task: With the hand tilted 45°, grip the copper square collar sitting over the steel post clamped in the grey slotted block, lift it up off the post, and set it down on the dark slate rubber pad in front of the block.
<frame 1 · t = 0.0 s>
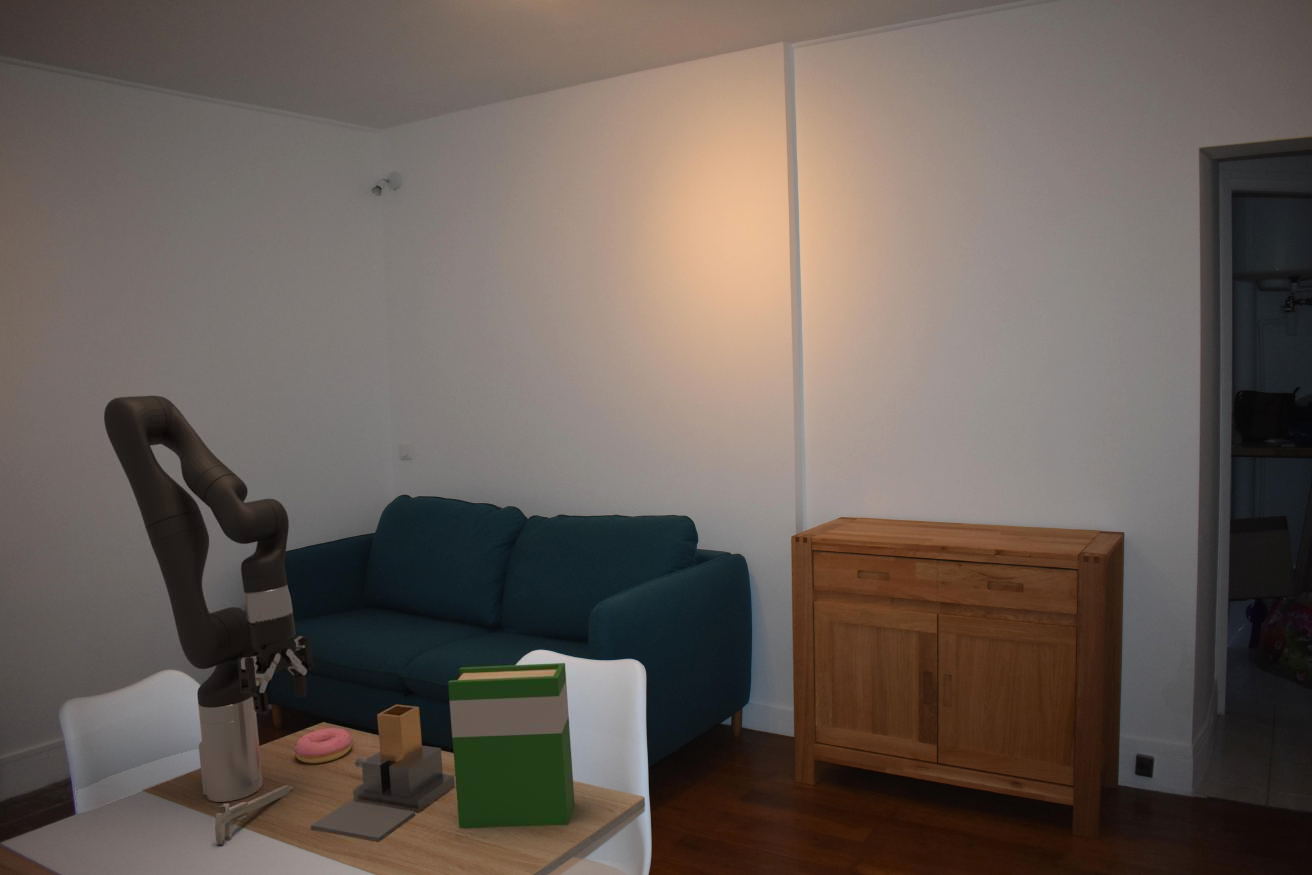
hand: (282, 704, 159), 17 cm above the table, tool pointing down, fingers open, 8 cm apart
doughnut: (324, 755, 180), on the table
hardback book: (518, 816, 149), on the table
caliper: (257, 817, 155), on the table
grey slotted block: (404, 793, 159), on the table
copper collar: (401, 755, 159), point 7 cm above the table, touching grey slotted block
slate pad: (363, 821, 150), on the table
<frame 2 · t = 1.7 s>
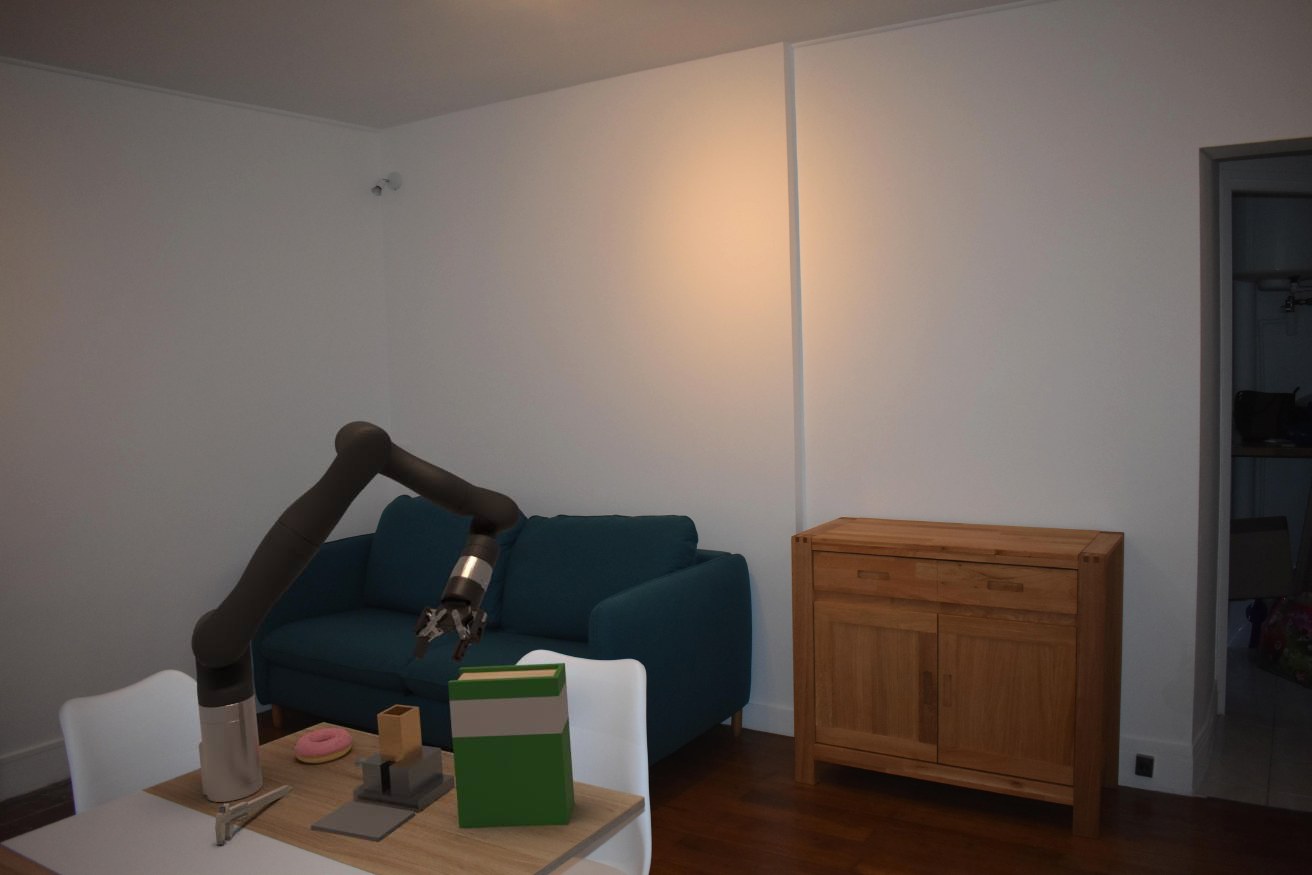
hand: (436, 659, 168), 21 cm above the table, tool tilted 45°, fingers open, 8 cm apart
nothing on the table moved.
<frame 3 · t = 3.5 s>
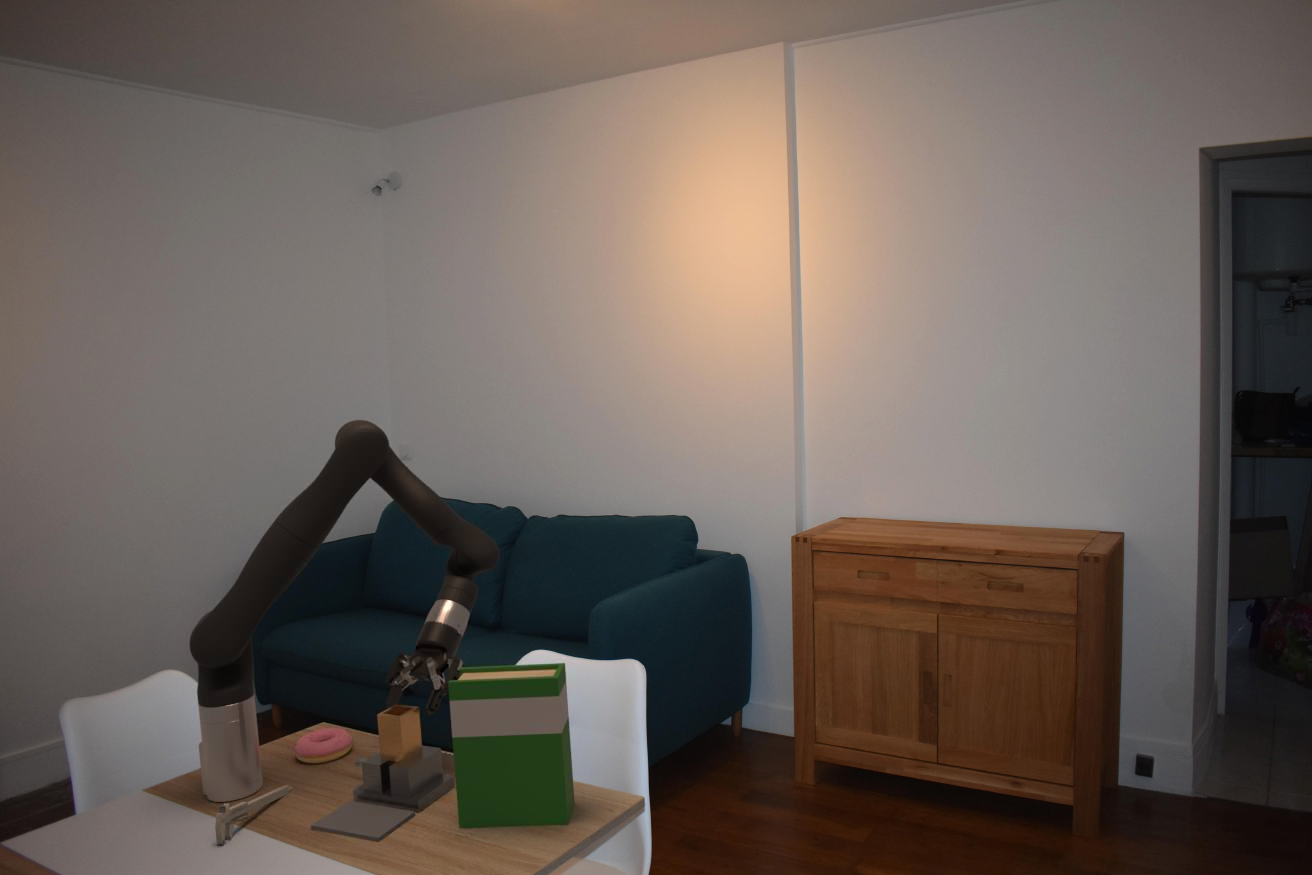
hand: (409, 710, 161), 14 cm above the table, tool tilted 45°, fingers open, 8 cm apart
nothing on the table moved.
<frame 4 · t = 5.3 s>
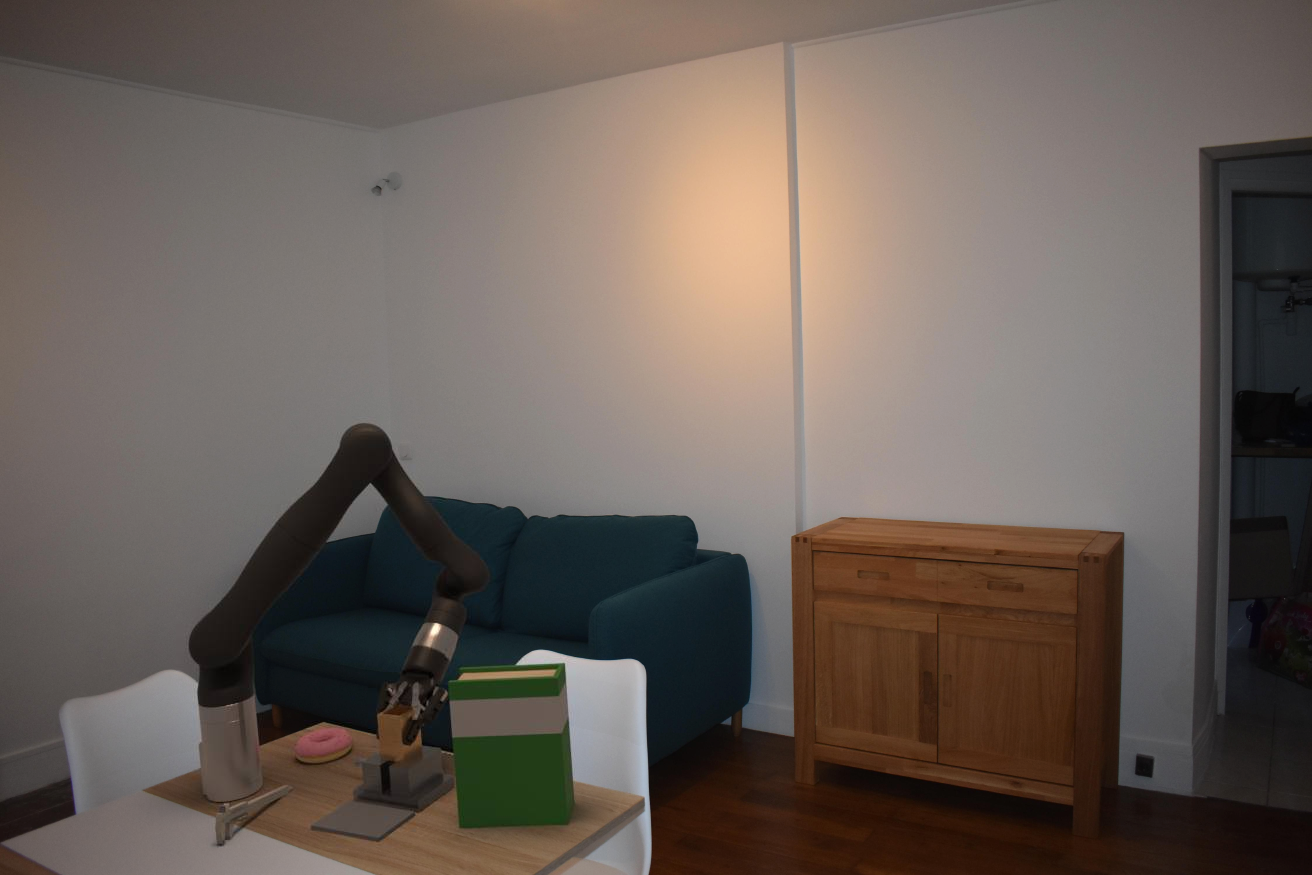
hand: (393, 741, 157), 10 cm above the table, tool tilted 45°, fingers closed on copper collar, 5 cm apart
copper collar: (401, 755, 159), point 7 cm above the table, touching grey slotted block, gripper
everything else where it was.
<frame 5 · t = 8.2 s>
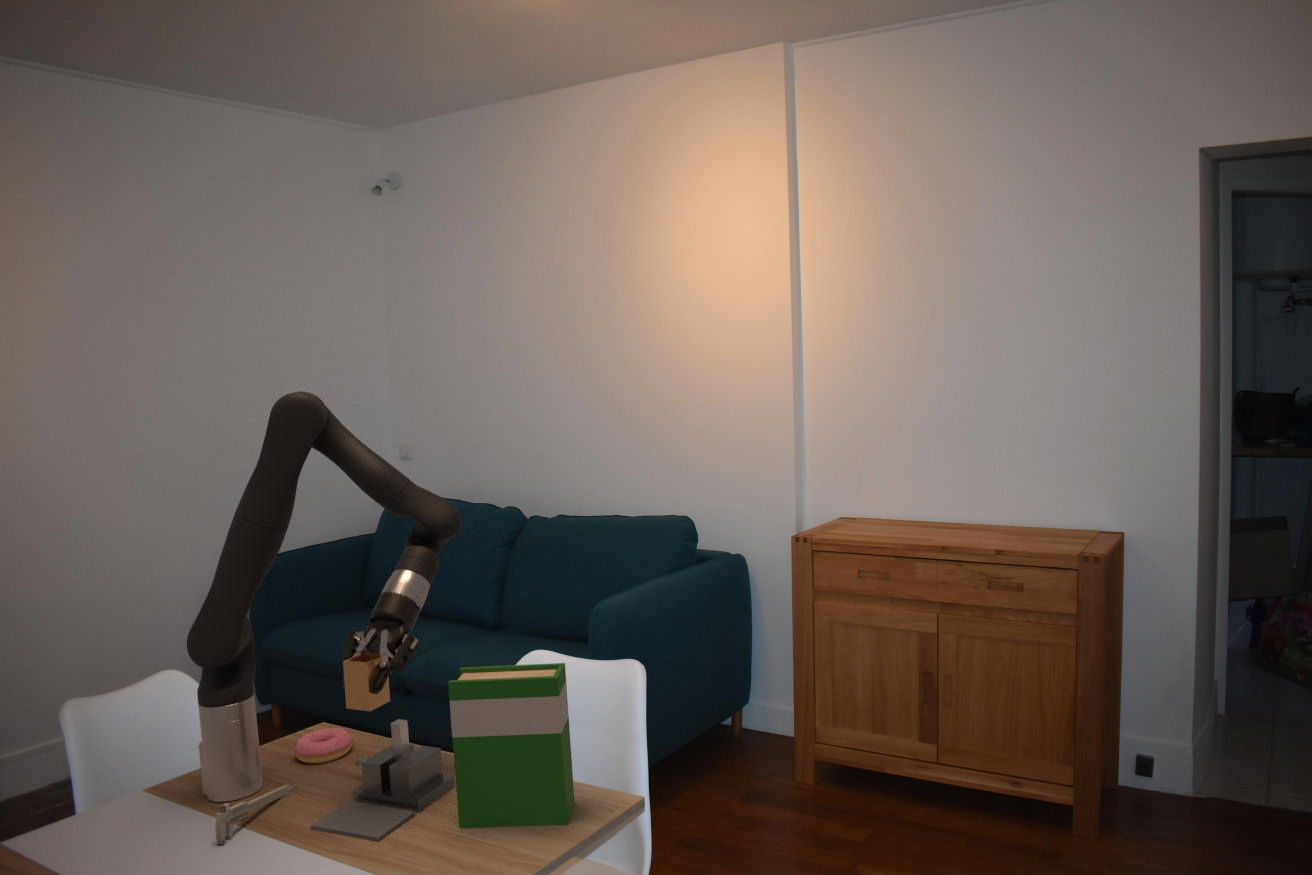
hand: (359, 689, 150), 22 cm above the table, tool tilted 45°, fingers closed on copper collar, 5 cm apart
copper collar: (368, 704, 152), point 19 cm above the table, touching gripper
everything else where it was.
when the fingers open (5 cm above the table, at t = 11.1 s): copper collar drops 1 cm, resting on slate pad.
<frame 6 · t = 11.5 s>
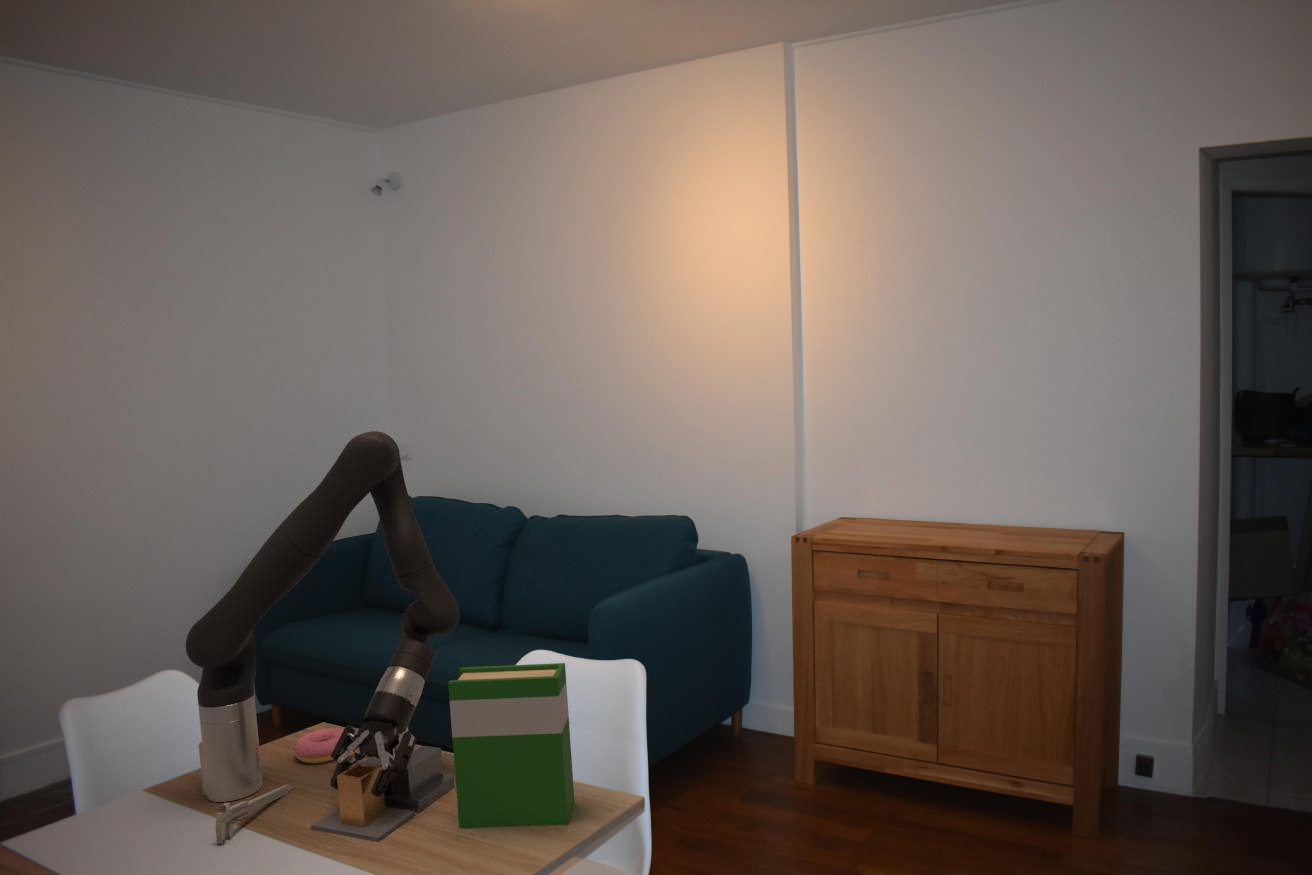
hand: (355, 791, 148), 6 cm above the table, tool tilted 45°, fingers open, 8 cm apart
copper collar: (363, 817, 150), point 1 cm above the table, touching slate pad
everything else where it was.
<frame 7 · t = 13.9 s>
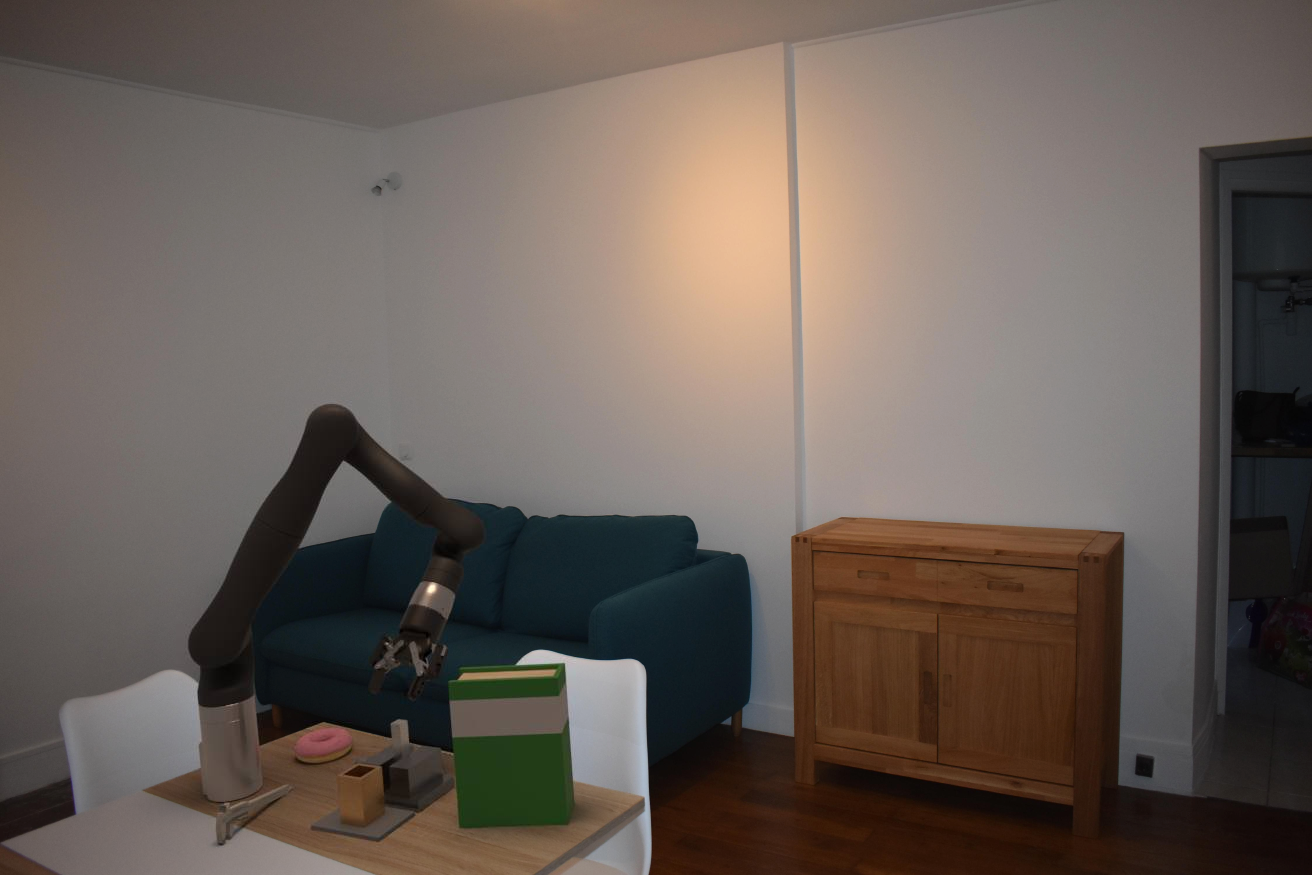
hand: (391, 695, 159), 18 cm above the table, tool tilted 40°, fingers open, 8 cm apart
nothing on the table moved.
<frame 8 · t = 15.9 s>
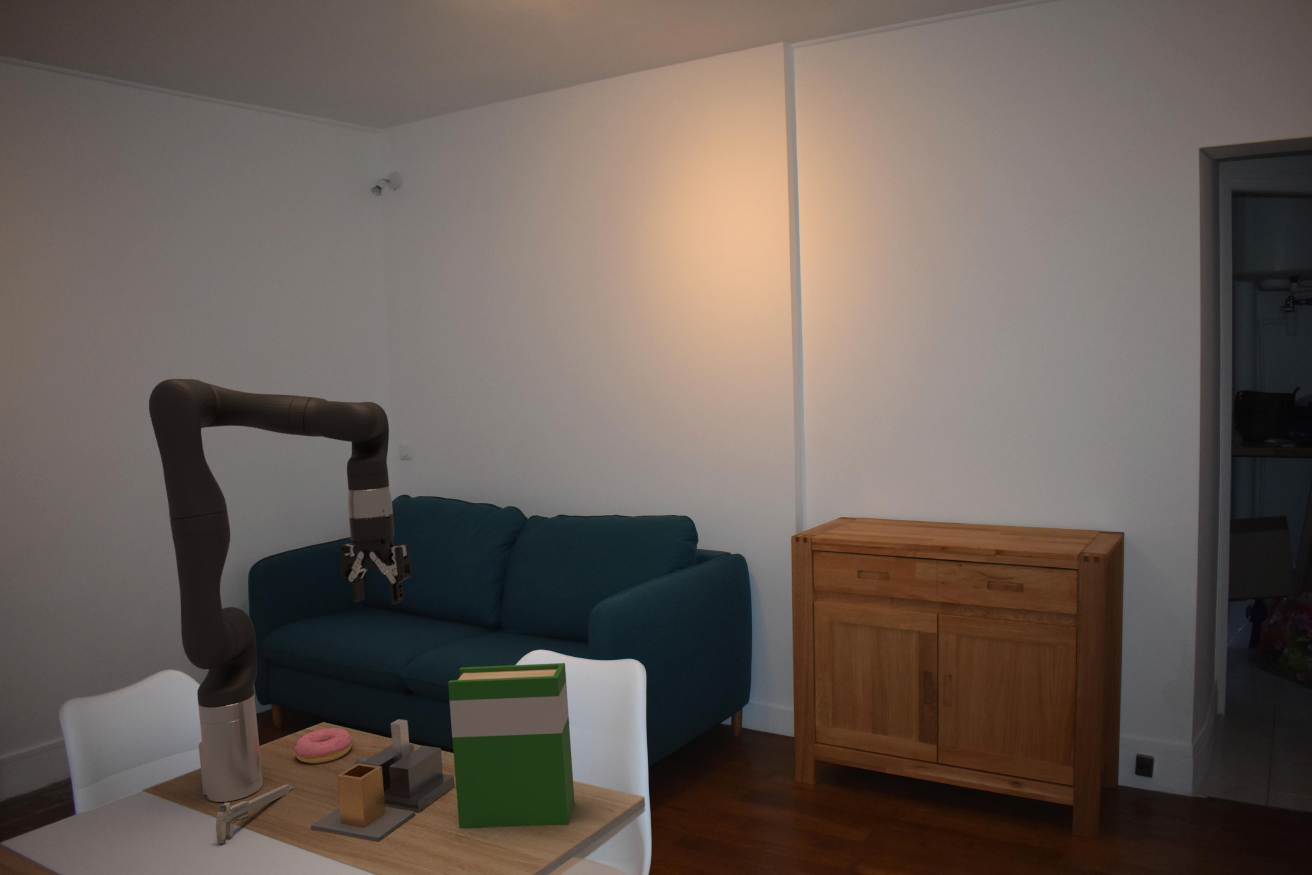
hand: (378, 601, 163), 33 cm above the table, tool pointing down, fingers open, 8 cm apart
nothing on the table moved.
at the end: copper collar inside the target area on the slate pad (0.1 cm from its centre), point 0.6 cm above the slate pad's base; copper collar tilted 0°; the gripper is holding nothing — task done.
